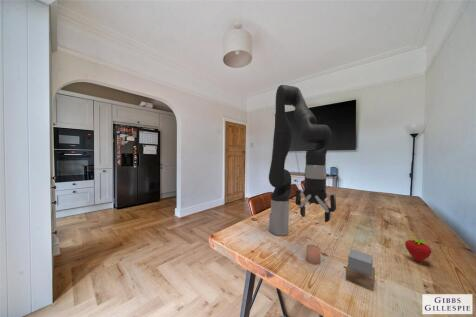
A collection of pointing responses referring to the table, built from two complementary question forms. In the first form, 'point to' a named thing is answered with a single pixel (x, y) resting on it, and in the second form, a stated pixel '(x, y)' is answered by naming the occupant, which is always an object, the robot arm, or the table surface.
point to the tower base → (361, 278)
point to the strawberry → (418, 249)
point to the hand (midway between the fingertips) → (314, 218)
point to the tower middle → (360, 262)
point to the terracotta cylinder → (313, 254)
